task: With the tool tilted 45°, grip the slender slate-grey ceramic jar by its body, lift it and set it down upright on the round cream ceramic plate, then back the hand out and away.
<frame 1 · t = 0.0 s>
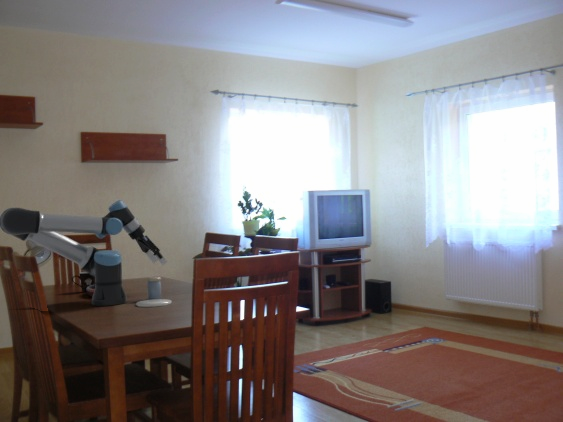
hand: (160, 262, 298), 15 cm above the table, tool tilted 35°, fingers open, 13 cm apart
jar: (154, 299, 279), on the table
coffee mug: (85, 291, 316), on the table
plate: (154, 304, 265), on the table
dish: (102, 295, 302), on the table
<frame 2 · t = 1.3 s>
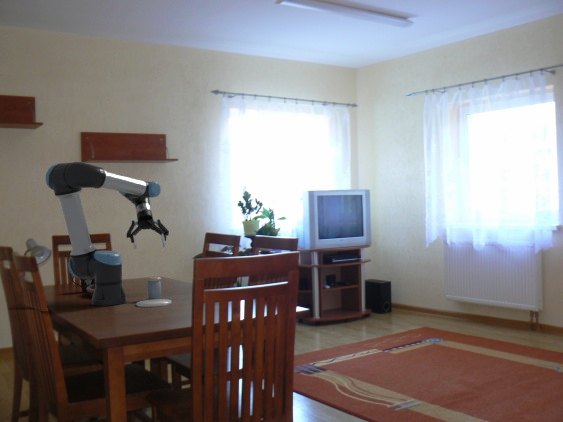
hand: (150, 246, 289), 24 cm above the table, tool tilted 45°, fingers open, 13 cm apart
nothing on the table moved.
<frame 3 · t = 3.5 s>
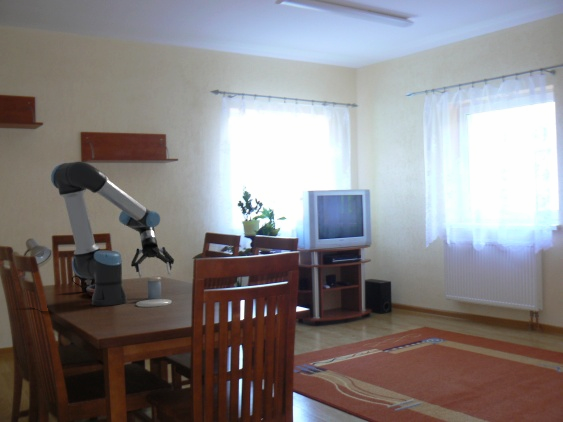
hand: (155, 275, 286), 10 cm above the table, tool tilted 45°, fingers open, 13 cm apart
nothing on the table moved.
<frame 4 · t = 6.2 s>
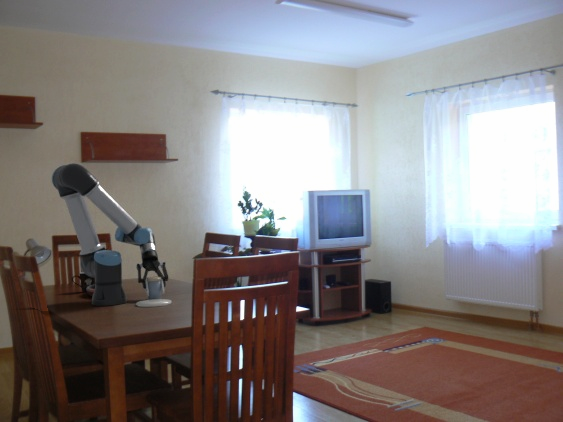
hand: (155, 292, 276), 3 cm above the table, tool tilted 45°, fingers closed on jar, 6 cm apart
jar: (154, 299, 279), on the table, touching gripper
everything else where it was.
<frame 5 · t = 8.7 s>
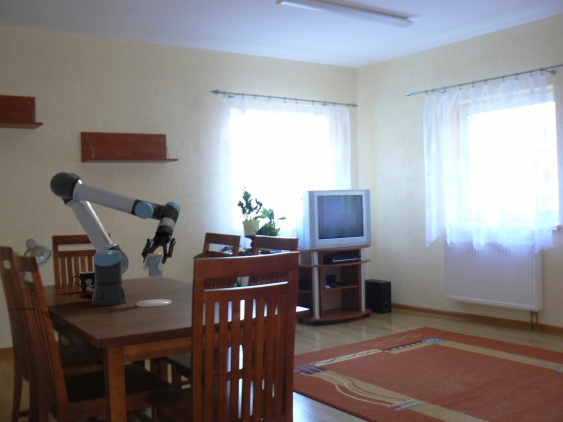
hand: (151, 268, 264), 15 cm above the table, tool tilted 45°, fingers closed on jar, 6 cm apart
jar: (155, 275, 268), point 12 cm above the table, touching gripper
everything else where it was.
when the fingers open (6 cm above the table, at t = 11.4 s): jar drops 1 cm, resting on plate.
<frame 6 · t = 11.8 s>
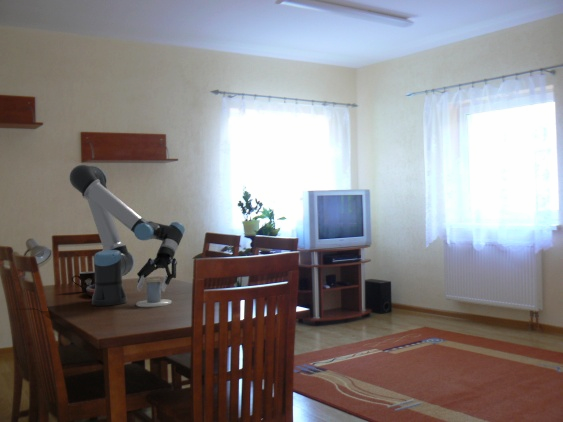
hand: (150, 289, 262), 7 cm above the table, tool tilted 45°, fingers open, 11 cm apart
jar: (154, 301, 265), point 1 cm above the table, touching plate
everything else where it was.
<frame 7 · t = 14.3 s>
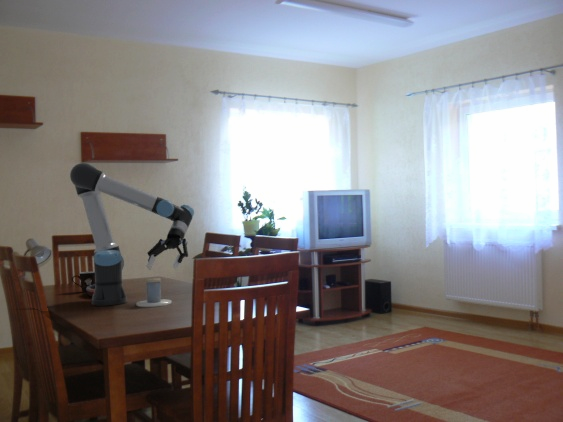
hand: (161, 267, 271), 15 cm above the table, tool tilted 45°, fingers open, 13 cm apart
nothing on the table moved.
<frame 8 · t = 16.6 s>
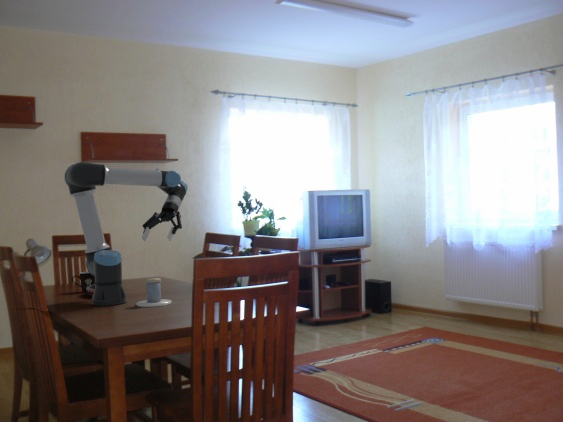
hand: (156, 239, 282), 28 cm above the table, tool tilted 45°, fingers open, 13 cm apart
nothing on the table moved.
at the end: jar inside the target area on the plate (0.1 cm from its centre), point 1.0 cm above the plate's base; jar tilted 0°; the gripper is holding nothing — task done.
